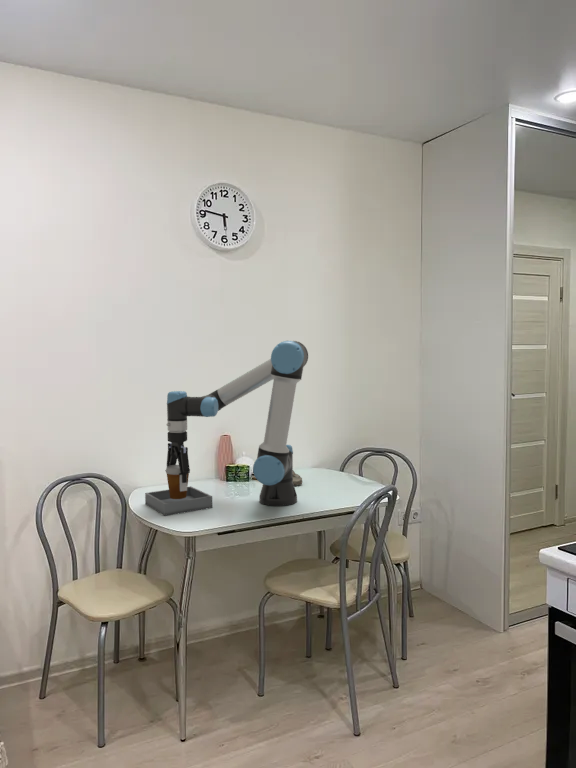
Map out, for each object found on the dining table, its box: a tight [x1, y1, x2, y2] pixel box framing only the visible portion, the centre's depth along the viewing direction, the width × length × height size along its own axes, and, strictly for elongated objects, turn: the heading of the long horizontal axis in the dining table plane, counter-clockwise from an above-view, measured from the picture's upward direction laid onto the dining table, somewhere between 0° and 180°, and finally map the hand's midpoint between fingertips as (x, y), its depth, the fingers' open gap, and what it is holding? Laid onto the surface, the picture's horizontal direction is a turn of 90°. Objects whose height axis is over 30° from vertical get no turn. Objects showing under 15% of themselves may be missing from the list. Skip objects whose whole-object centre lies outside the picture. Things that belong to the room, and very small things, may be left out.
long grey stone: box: [293, 470, 303, 486], centre depth 285 cm, size 35×5×10 cm
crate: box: [144, 486, 213, 517], centre depth 240 cm, size 20×20×4 cm
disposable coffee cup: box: [165, 464, 190, 499], centre depth 239 cm, size 10×10×12 cm
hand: (178, 488), depth 239 cm, fingers closed on disposable coffee cup, 9 cm apart
